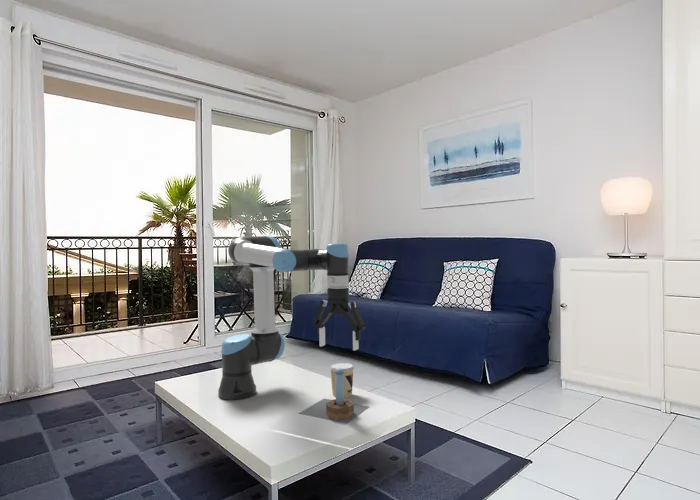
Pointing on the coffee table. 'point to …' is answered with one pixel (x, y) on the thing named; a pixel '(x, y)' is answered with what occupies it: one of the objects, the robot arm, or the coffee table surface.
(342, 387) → the blue rounded-end rod
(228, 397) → the robot arm
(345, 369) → the coffee cup
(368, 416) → the coffee table surface
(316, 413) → the mat
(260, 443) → the coffee table surface
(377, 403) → the coffee table surface
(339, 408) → the bead
